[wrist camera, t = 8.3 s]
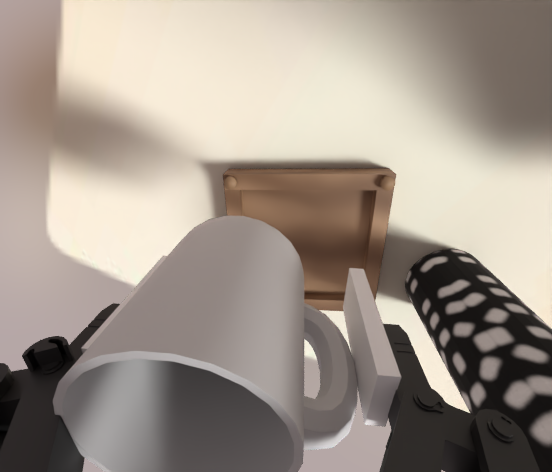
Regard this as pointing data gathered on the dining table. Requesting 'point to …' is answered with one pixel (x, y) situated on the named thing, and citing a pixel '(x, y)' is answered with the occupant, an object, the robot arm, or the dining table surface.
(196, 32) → the dining table surface
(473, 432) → the robot arm
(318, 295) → the wooden tray
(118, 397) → the cup
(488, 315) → the white-spotted black cylinder
